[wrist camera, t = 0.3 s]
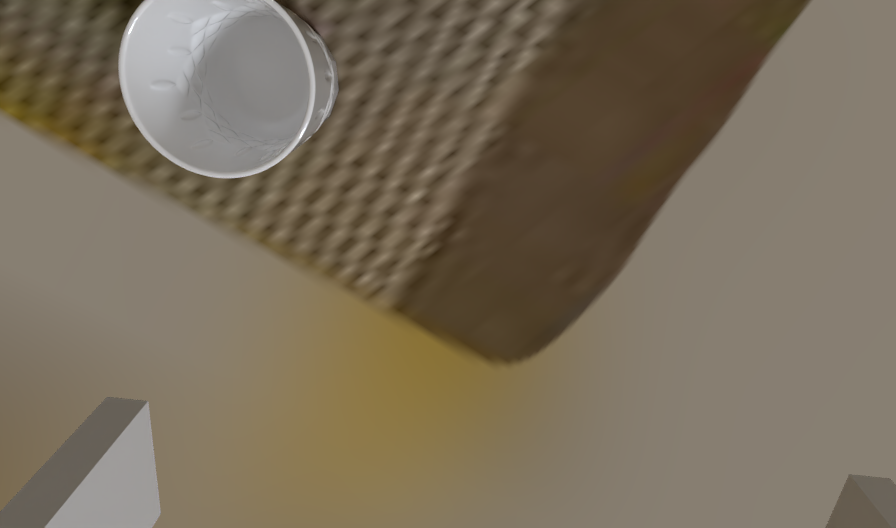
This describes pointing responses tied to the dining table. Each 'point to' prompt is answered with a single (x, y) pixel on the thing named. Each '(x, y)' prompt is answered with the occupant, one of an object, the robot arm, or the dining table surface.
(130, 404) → the robot arm
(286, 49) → the white cup
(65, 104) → the dining table surface
